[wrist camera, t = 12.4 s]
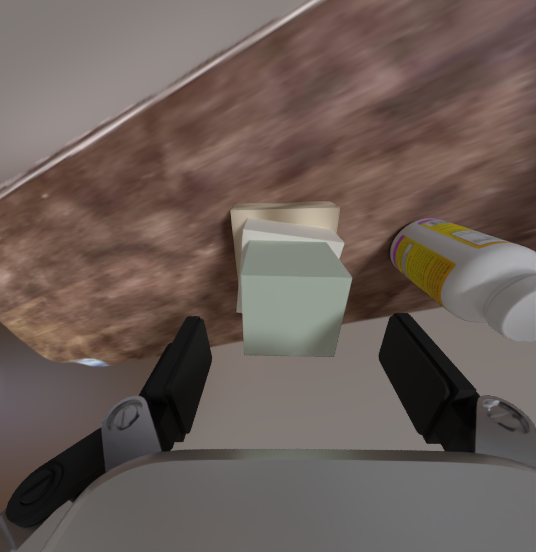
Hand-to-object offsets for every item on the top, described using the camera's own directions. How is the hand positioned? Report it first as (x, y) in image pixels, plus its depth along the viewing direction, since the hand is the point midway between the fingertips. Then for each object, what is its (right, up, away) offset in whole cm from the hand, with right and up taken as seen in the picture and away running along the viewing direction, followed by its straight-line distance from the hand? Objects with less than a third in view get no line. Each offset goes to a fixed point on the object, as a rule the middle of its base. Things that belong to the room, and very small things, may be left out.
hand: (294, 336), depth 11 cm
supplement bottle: (+16, +7, +14) cm, 22 cm away
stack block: (0, +3, +7) cm, 8 cm away
